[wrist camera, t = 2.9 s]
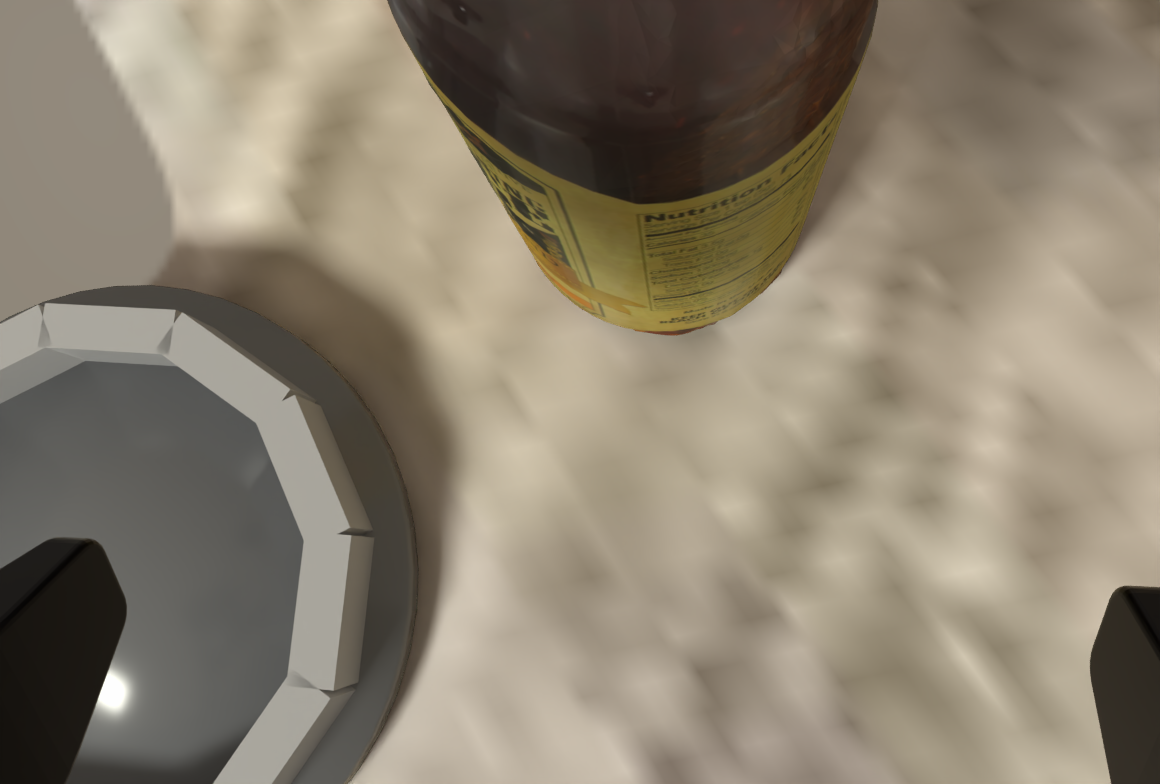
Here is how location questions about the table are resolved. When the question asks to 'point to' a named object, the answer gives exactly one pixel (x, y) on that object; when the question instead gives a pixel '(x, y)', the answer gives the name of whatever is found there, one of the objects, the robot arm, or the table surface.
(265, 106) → the table surface
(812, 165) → the sauce bottle
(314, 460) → the grey shallow dish
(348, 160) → the table surface
